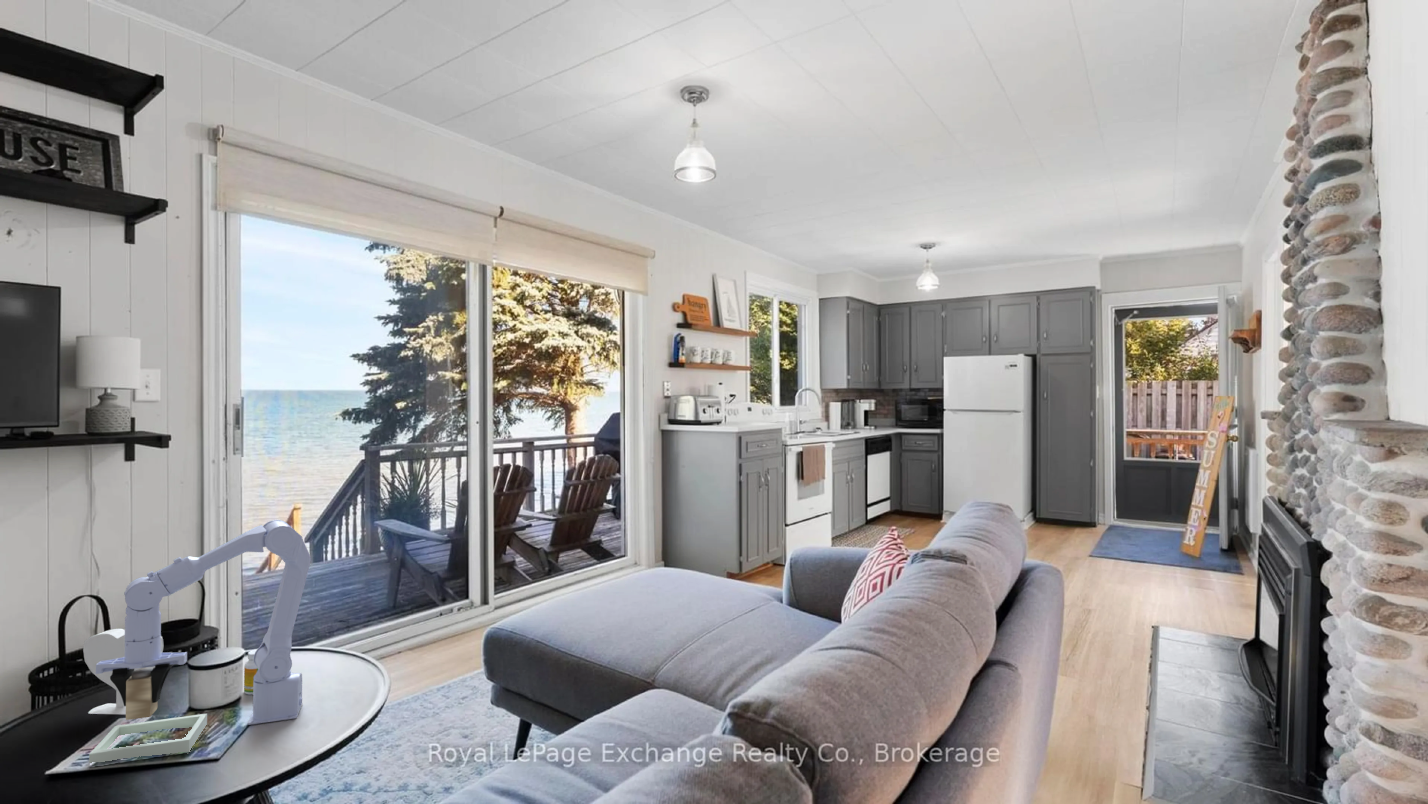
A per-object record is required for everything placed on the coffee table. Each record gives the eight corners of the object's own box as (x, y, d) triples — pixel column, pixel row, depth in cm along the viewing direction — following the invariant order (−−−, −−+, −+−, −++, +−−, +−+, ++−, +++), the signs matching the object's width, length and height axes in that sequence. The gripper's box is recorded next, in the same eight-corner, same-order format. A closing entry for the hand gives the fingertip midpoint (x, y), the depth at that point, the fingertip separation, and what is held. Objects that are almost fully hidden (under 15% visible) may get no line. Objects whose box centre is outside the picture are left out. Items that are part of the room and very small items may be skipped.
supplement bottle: (256, 696, 164) (257, 656, 164) (238, 693, 165) (238, 654, 165) (275, 686, 169) (276, 648, 169) (257, 684, 170) (258, 646, 170)
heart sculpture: (165, 704, 158) (166, 628, 158) (147, 714, 153) (148, 635, 153) (99, 703, 158) (100, 626, 158) (79, 713, 153) (80, 634, 153)
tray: (206, 725, 149) (207, 713, 149) (189, 752, 138) (189, 739, 138) (115, 738, 143) (115, 725, 143) (88, 768, 132) (89, 753, 132)
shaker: (157, 708, 142) (158, 665, 142) (150, 716, 139) (150, 673, 138) (133, 711, 141) (134, 668, 141) (125, 719, 137) (126, 675, 137)
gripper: (89, 648, 133) (88, 716, 133) (179, 639, 139) (178, 704, 139) (104, 635, 139) (104, 701, 140) (190, 627, 145) (189, 690, 145)
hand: (142, 702), depth 140 cm, fingers closed on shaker, 4 cm apart
